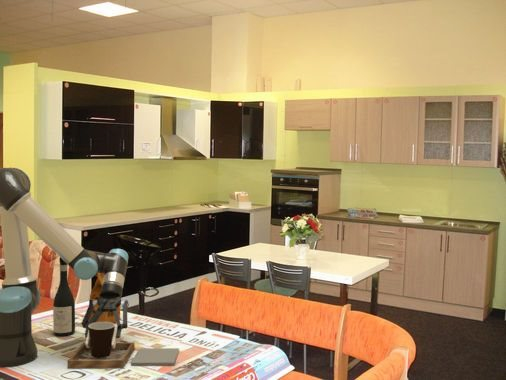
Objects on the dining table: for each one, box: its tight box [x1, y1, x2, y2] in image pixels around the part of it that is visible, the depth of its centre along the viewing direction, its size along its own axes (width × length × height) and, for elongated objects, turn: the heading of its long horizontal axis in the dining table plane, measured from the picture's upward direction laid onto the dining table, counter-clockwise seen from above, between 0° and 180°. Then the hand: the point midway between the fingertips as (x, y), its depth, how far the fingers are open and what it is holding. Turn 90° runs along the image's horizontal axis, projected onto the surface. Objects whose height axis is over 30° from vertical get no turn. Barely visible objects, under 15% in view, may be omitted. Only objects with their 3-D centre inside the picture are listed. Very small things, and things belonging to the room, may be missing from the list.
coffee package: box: [89, 273, 121, 324], centre depth 225 cm, size 10×12×22 cm
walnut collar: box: [66, 342, 136, 369], centre depth 183 cm, size 18×18×2 cm
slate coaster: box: [130, 347, 180, 367], centre depth 183 cm, size 14×14×1 cm
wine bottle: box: [52, 257, 76, 337], centre depth 210 cm, size 8×8×30 cm
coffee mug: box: [88, 322, 116, 359], centre depth 183 cm, size 12×9×10 cm
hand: (100, 346), depth 180 cm, fingers closed on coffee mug, 8 cm apart
